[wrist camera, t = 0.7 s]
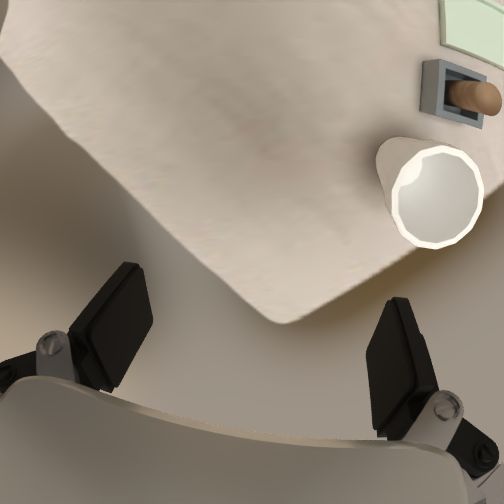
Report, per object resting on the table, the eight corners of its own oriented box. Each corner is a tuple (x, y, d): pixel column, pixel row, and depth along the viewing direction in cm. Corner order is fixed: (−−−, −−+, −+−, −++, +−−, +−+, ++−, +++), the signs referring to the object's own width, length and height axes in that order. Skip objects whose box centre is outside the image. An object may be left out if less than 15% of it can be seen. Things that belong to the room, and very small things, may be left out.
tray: (440, 44, 23) (446, 43, 22) (436, -19, 18) (442, -23, 17) (519, 78, 21) (526, 79, 20) (516, 19, 16) (523, 18, 15)
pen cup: (422, 61, 25) (439, 59, 21) (466, 75, 24) (486, 76, 20) (419, 111, 28) (435, 115, 24) (462, 122, 28) (481, 129, 23)
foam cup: (357, 190, 35) (379, 241, 24) (368, 117, 30) (401, 134, 19) (424, 202, 34) (466, 253, 23) (438, 134, 29) (494, 161, 18)
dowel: (435, 76, 25) (477, 77, 17) (457, 83, 25) (502, 88, 16) (433, 101, 27) (475, 110, 18) (455, 108, 26) (500, 119, 18)
